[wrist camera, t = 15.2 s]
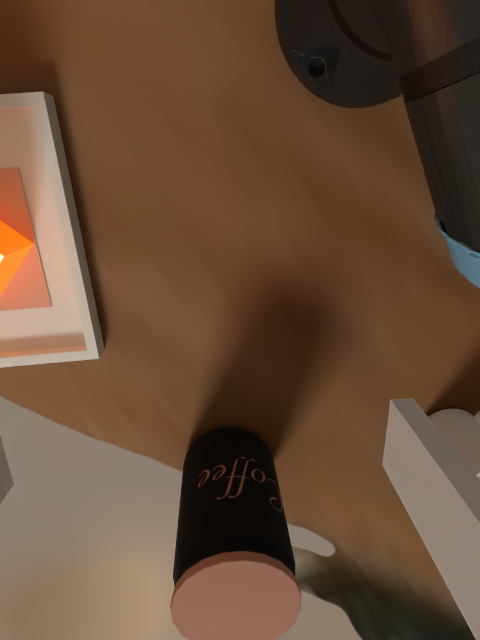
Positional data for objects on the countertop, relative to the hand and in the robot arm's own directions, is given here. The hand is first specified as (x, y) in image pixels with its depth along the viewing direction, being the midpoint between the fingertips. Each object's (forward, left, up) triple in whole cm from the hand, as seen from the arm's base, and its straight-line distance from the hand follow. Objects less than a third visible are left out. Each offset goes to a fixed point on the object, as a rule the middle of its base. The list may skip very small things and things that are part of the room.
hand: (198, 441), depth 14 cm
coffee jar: (+25, 0, -29) cm, 38 cm away
